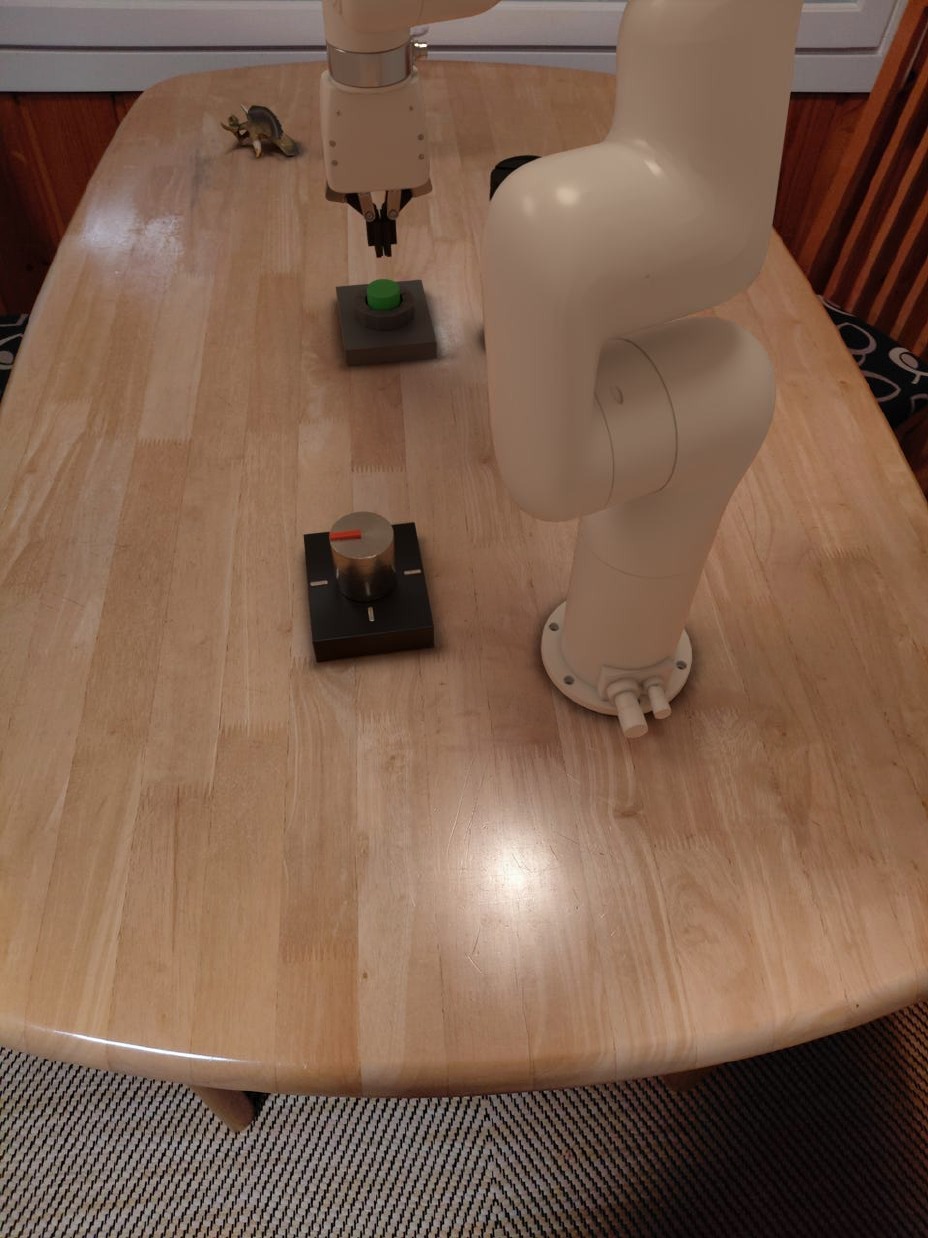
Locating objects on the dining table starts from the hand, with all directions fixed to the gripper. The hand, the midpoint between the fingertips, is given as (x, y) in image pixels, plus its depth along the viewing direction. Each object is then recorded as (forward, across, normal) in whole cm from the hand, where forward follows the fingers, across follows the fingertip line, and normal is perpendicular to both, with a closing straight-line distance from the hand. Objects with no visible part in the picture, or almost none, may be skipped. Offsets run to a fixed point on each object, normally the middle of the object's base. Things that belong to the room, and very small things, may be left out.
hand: (382, 250), depth 98 cm
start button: (+6, 0, -1) cm, 7 cm away
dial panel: (+11, +6, +38) cm, 40 cm away
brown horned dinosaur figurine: (+9, +12, -45) cm, 47 cm away
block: (+10, 0, -1) cm, 10 cm away
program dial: (+8, +6, +38) cm, 40 cm away
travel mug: (+10, -14, +3) cm, 18 cm away
